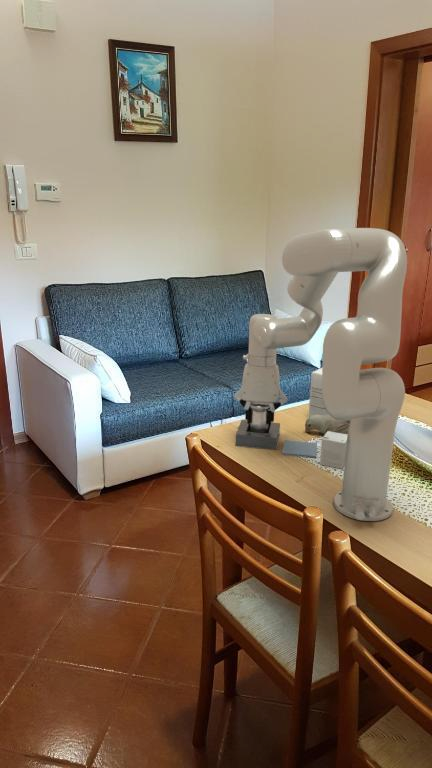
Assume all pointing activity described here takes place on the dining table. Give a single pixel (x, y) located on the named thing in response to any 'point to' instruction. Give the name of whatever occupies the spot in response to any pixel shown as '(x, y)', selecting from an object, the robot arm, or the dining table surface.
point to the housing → (257, 436)
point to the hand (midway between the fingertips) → (259, 422)
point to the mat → (300, 449)
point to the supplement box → (316, 394)
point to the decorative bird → (326, 424)
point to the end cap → (259, 417)
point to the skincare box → (333, 449)
